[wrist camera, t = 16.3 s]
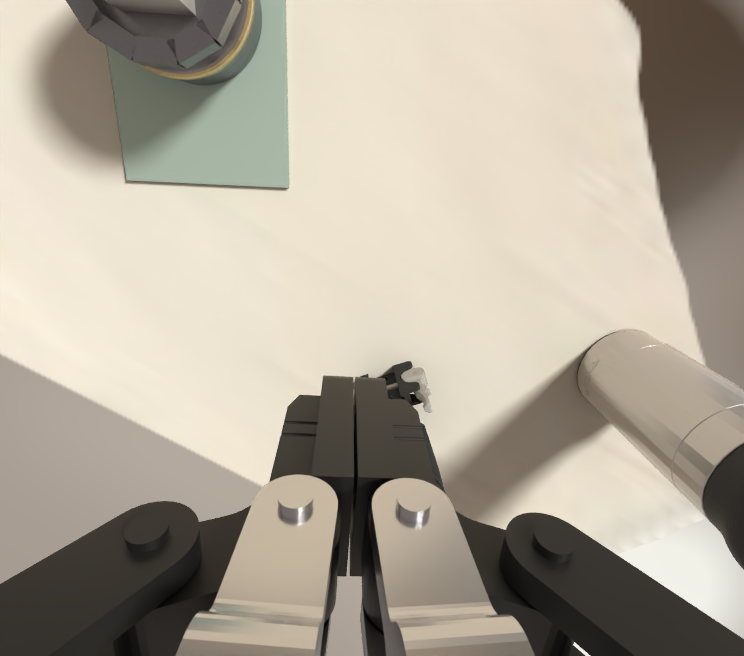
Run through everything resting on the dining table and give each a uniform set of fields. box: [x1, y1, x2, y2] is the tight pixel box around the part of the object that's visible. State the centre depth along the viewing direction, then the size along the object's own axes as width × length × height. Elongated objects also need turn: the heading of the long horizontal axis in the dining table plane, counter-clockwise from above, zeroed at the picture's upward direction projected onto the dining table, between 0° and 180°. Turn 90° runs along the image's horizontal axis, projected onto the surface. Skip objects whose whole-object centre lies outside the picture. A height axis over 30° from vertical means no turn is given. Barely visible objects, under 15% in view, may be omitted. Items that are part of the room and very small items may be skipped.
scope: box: [353, 361, 446, 494], centre depth 40 cm, size 8×14×10 cm
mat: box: [106, 0, 289, 188], centre depth 33 cm, size 13×18×1 cm
